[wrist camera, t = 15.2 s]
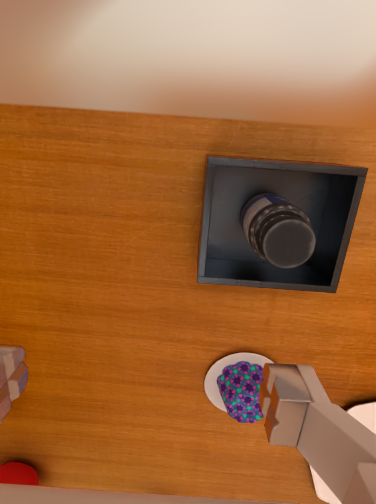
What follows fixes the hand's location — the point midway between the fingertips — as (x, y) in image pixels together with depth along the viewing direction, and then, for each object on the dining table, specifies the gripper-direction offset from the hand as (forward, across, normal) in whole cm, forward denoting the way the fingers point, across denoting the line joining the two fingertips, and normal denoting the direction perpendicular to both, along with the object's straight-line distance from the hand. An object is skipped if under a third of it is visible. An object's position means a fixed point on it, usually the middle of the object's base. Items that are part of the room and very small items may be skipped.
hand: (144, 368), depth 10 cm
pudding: (+29, -11, +27) cm, 41 cm away
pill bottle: (+28, -10, +1) cm, 30 cm away
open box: (+29, -10, +1) cm, 31 cm away
